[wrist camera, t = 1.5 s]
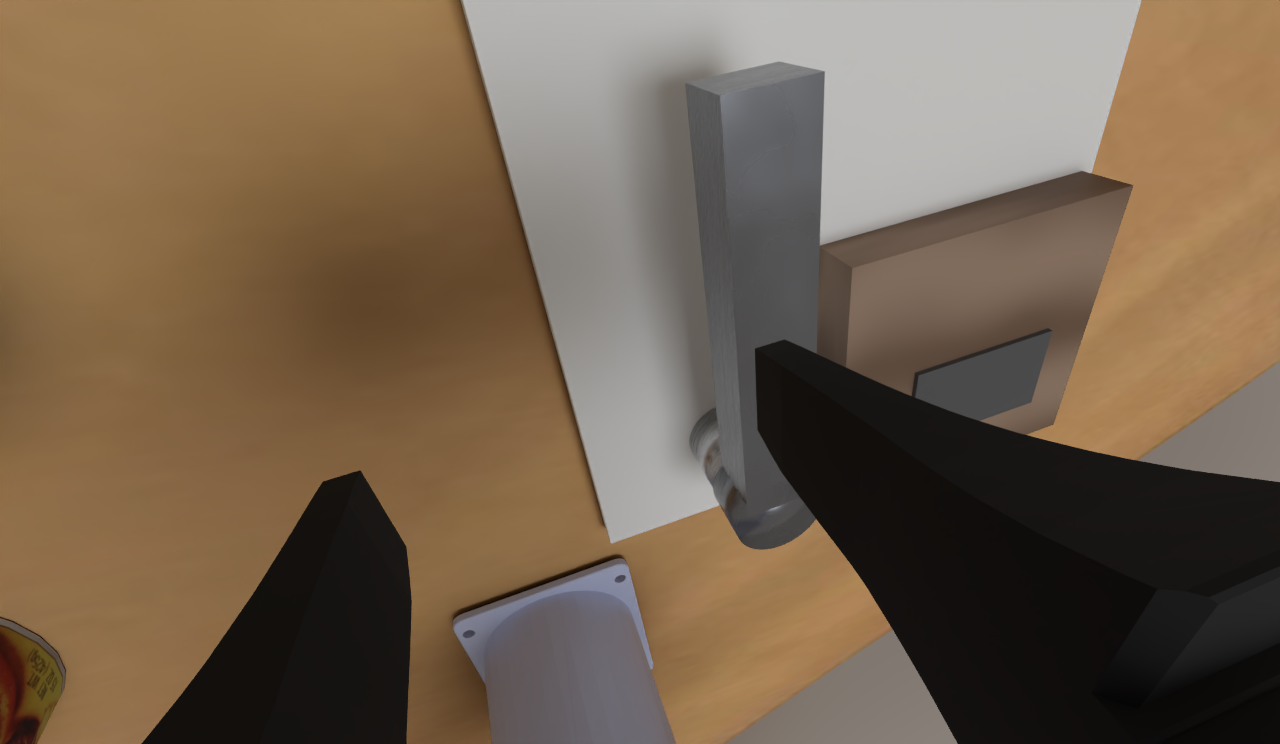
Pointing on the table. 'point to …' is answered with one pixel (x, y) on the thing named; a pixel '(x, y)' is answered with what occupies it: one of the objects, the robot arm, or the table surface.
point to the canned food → (26, 684)
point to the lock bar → (757, 265)
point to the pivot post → (707, 444)
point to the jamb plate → (664, 179)
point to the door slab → (973, 286)
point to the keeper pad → (986, 378)
